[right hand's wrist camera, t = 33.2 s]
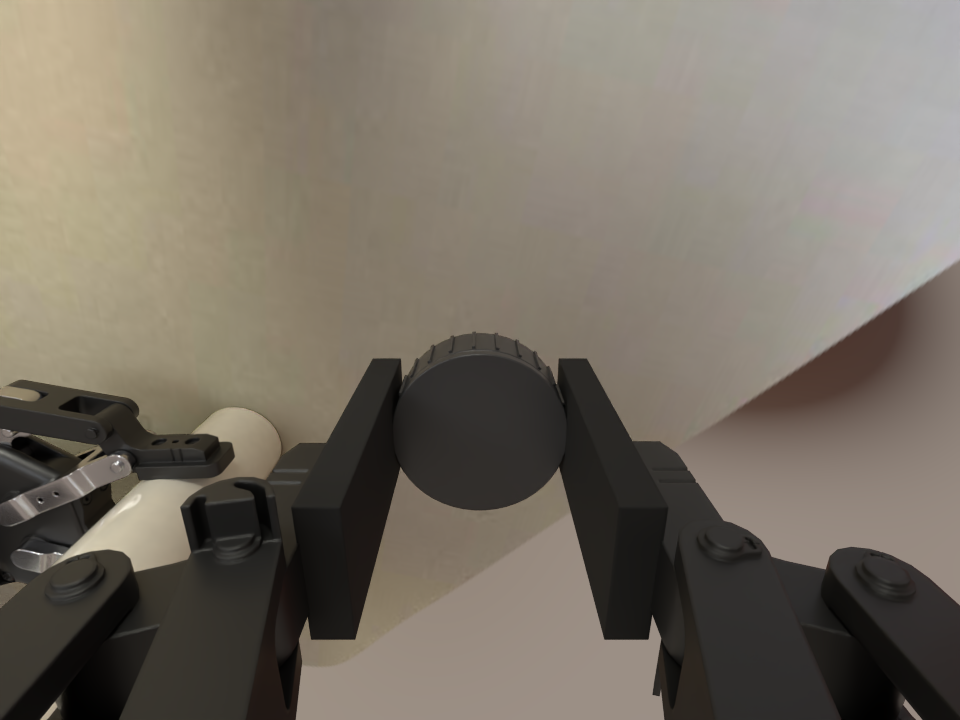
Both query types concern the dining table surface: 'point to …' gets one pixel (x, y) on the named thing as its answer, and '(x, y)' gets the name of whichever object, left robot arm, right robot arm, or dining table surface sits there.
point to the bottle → (178, 498)
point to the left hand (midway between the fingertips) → (236, 506)
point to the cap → (479, 422)
